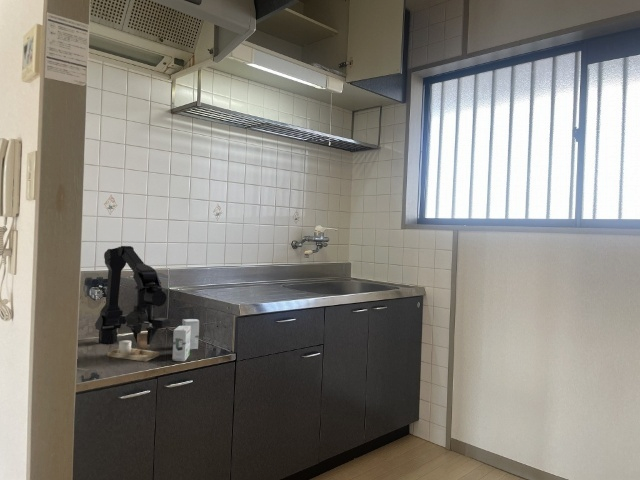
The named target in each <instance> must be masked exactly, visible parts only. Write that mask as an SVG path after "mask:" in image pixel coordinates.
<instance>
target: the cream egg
mask: <svg viewBox="0 0 640 480" xmlns="http://www.w3.org/2000/svg"><path fill="white" fill-rule="evenodd" d="M118 341H119V342H118V349H119V353H121V354H129V353H131V348H132V340H129V339H125V340H124V339H123V340H118Z"/></svg>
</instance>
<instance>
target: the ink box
mask: <svg viewBox="0 0 640 480" xmlns="http://www.w3.org/2000/svg"><path fill="white" fill-rule="evenodd" d="M172 334H173V335H172V336H173V338H172V339H173V341H172V342H173V343H172V358H171V360H172V361H174V362H185V361H186V360H187V359H188V358H189V356H190V354H191V349H190V334H191V326H182V325H179V326H177V327H176V328H175V329H173V333H172Z"/></svg>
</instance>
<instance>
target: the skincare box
mask: <svg viewBox="0 0 640 480" xmlns="http://www.w3.org/2000/svg"><path fill="white" fill-rule="evenodd" d="M181 322H182V324H181V326H191V334H190V350H195V349H196V350H198V349H199V334H200V320H199V319H196V318H187V319H185V318H183V319H182V321H181Z"/></svg>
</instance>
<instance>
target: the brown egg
mask: <svg viewBox="0 0 640 480" xmlns="http://www.w3.org/2000/svg"><path fill="white" fill-rule="evenodd" d="M147 334H148V332H141V333H138V334H137V343H136V349H140V350H144V349H148V348H150V344H149V345H147Z"/></svg>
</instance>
